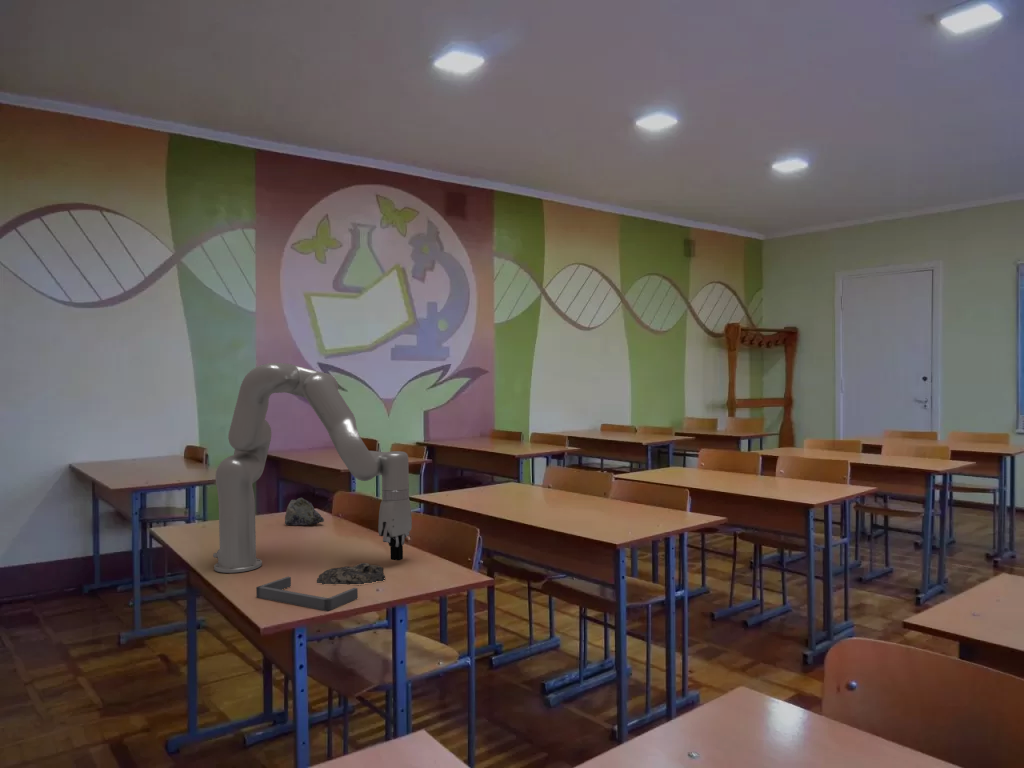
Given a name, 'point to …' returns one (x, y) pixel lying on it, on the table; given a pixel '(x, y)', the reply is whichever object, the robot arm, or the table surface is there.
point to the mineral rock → (301, 513)
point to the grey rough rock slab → (352, 575)
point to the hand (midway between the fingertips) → (396, 559)
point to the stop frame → (303, 596)
